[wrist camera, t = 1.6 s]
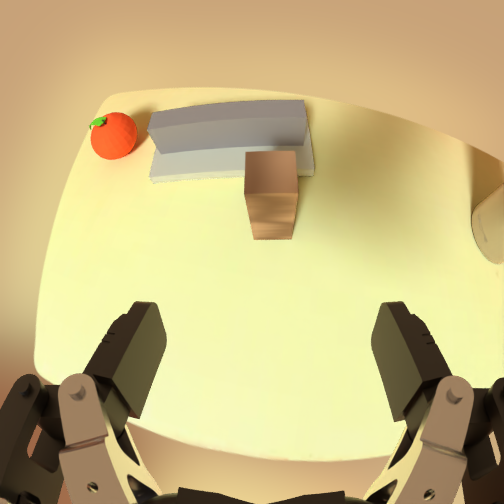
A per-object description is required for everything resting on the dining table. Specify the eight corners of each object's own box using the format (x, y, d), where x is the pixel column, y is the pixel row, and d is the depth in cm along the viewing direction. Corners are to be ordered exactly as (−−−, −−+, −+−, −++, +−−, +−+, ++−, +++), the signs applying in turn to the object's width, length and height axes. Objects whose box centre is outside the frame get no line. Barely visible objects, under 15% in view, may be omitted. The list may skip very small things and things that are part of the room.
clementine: (93, 165, 35) (69, 138, 29) (115, 130, 37) (95, 102, 30) (129, 171, 34) (105, 141, 27) (152, 134, 36) (134, 101, 29)
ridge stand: (305, 118, 34) (308, 83, 28) (313, 176, 31) (320, 141, 25) (166, 127, 36) (151, 96, 30) (153, 183, 33) (132, 154, 27)
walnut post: (289, 205, 30) (295, 150, 21) (291, 239, 29) (298, 193, 20) (254, 206, 31) (245, 151, 21) (253, 239, 30) (244, 193, 20)
